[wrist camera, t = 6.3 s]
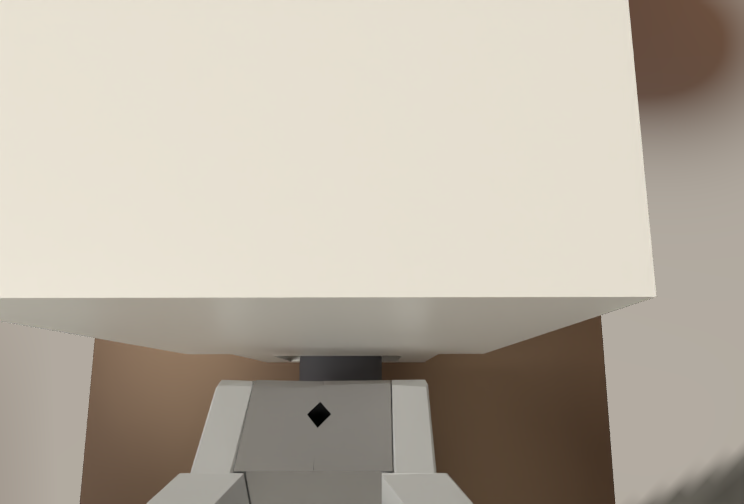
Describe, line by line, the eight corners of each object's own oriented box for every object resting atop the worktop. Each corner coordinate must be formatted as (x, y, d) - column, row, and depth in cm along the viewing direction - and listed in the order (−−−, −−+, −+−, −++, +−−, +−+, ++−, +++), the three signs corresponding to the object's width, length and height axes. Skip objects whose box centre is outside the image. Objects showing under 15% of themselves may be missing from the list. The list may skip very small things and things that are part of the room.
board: (538, -353, 21) (546, -390, 20) (612, 680, 14) (630, 701, 13) (171, -349, 21) (161, -385, 20) (83, 677, 14) (62, 699, 13)
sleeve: (453, 189, 15) (606, -224, 5) (457, 362, 14) (656, 296, 4) (241, 191, 15) (-44, -217, 5) (233, 362, 14) (-131, 298, 4)
